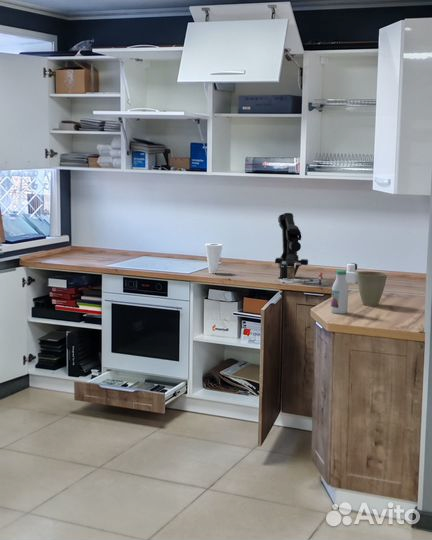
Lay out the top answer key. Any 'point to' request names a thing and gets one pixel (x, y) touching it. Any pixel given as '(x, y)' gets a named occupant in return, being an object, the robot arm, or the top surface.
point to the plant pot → (371, 286)
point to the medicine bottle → (351, 273)
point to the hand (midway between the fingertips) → (290, 276)
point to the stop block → (290, 273)
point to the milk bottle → (339, 294)
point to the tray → (290, 280)
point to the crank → (314, 280)
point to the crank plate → (316, 284)
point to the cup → (213, 256)
